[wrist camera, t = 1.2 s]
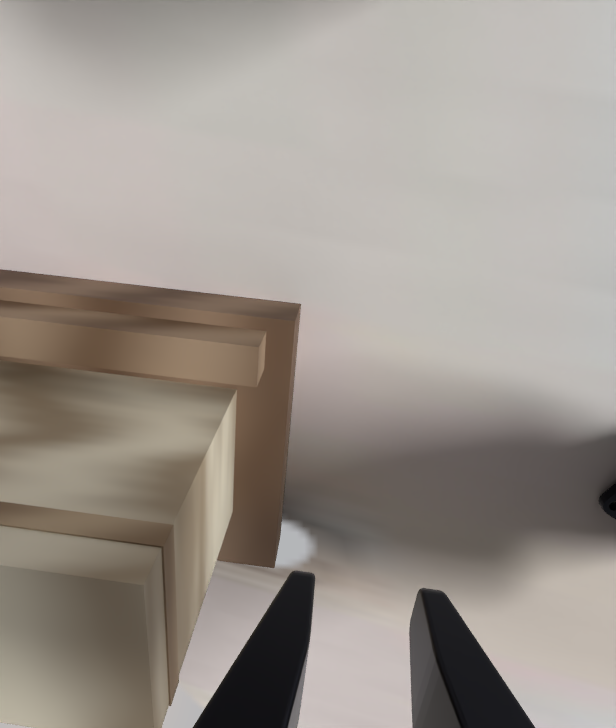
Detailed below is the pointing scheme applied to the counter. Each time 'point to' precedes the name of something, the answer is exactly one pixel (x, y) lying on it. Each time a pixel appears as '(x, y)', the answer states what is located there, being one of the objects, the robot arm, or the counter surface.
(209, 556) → the tea box
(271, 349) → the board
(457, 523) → the counter surface
